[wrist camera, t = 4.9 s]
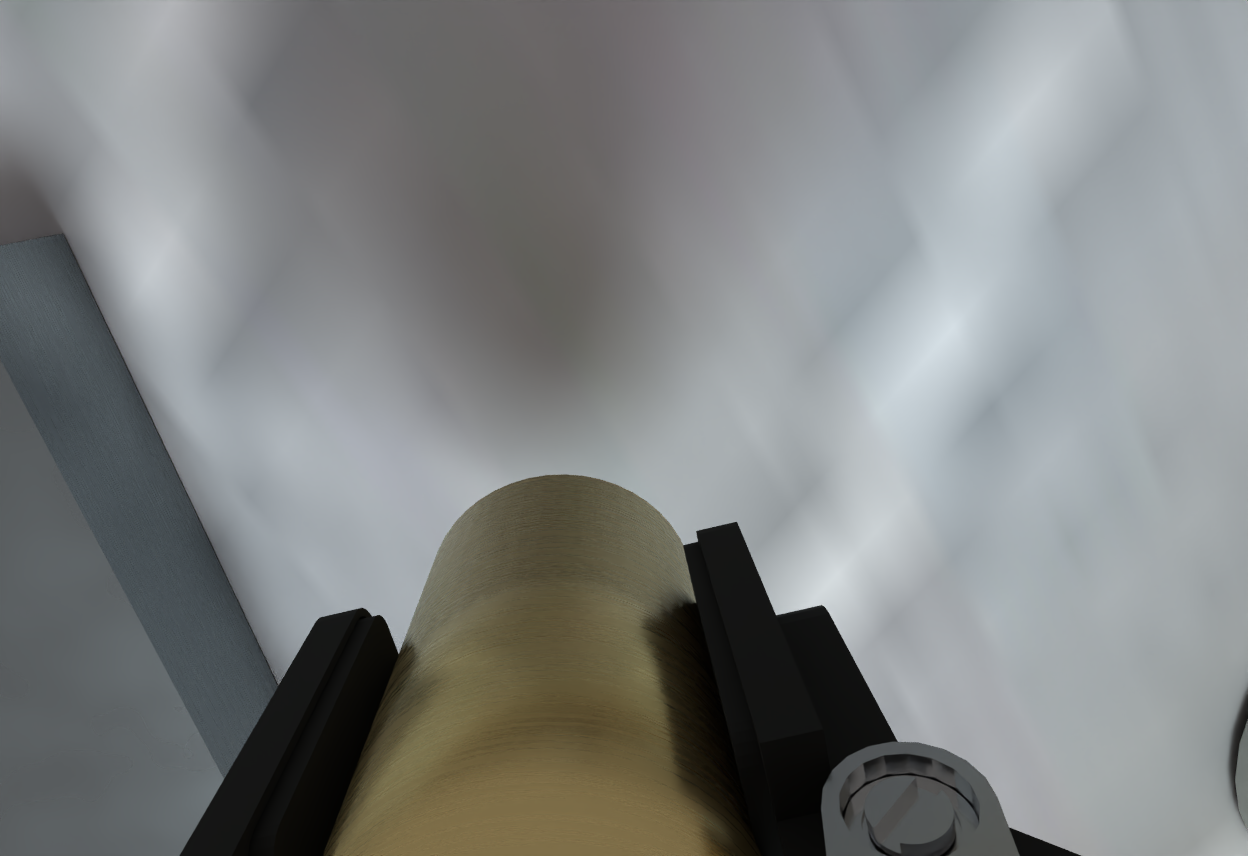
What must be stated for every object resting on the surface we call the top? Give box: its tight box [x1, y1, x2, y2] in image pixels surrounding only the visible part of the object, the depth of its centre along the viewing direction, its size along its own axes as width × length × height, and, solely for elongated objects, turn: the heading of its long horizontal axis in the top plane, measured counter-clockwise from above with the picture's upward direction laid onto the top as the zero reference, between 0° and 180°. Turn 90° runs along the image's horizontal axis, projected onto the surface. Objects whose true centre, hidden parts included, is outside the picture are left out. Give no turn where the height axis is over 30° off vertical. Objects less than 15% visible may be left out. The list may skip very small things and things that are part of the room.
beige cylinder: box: [323, 475, 762, 856], centre depth 8 cm, size 4×4×8 cm
